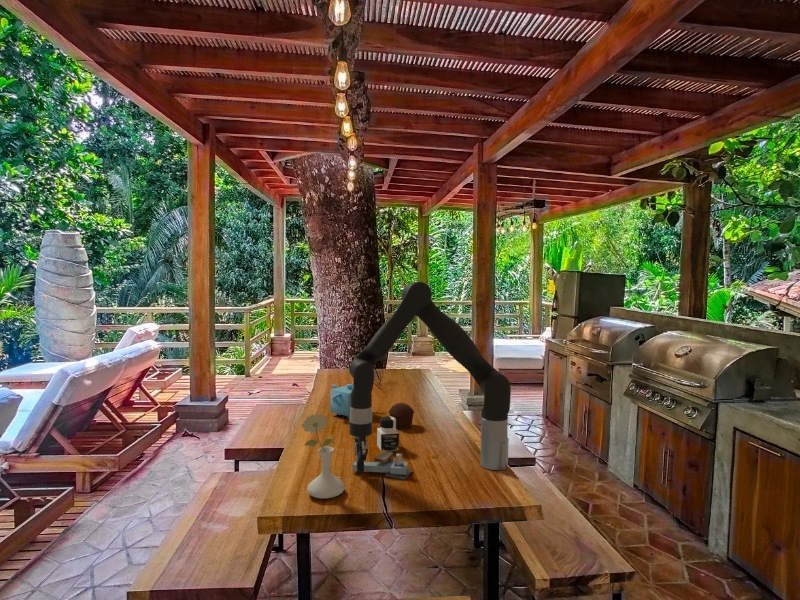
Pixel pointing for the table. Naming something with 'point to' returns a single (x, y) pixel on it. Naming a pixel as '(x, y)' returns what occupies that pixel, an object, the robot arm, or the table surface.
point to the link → (383, 467)
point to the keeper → (384, 457)
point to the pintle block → (399, 464)
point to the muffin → (402, 415)
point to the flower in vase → (326, 481)
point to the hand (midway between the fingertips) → (360, 471)
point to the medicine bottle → (387, 434)
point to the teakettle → (341, 400)
